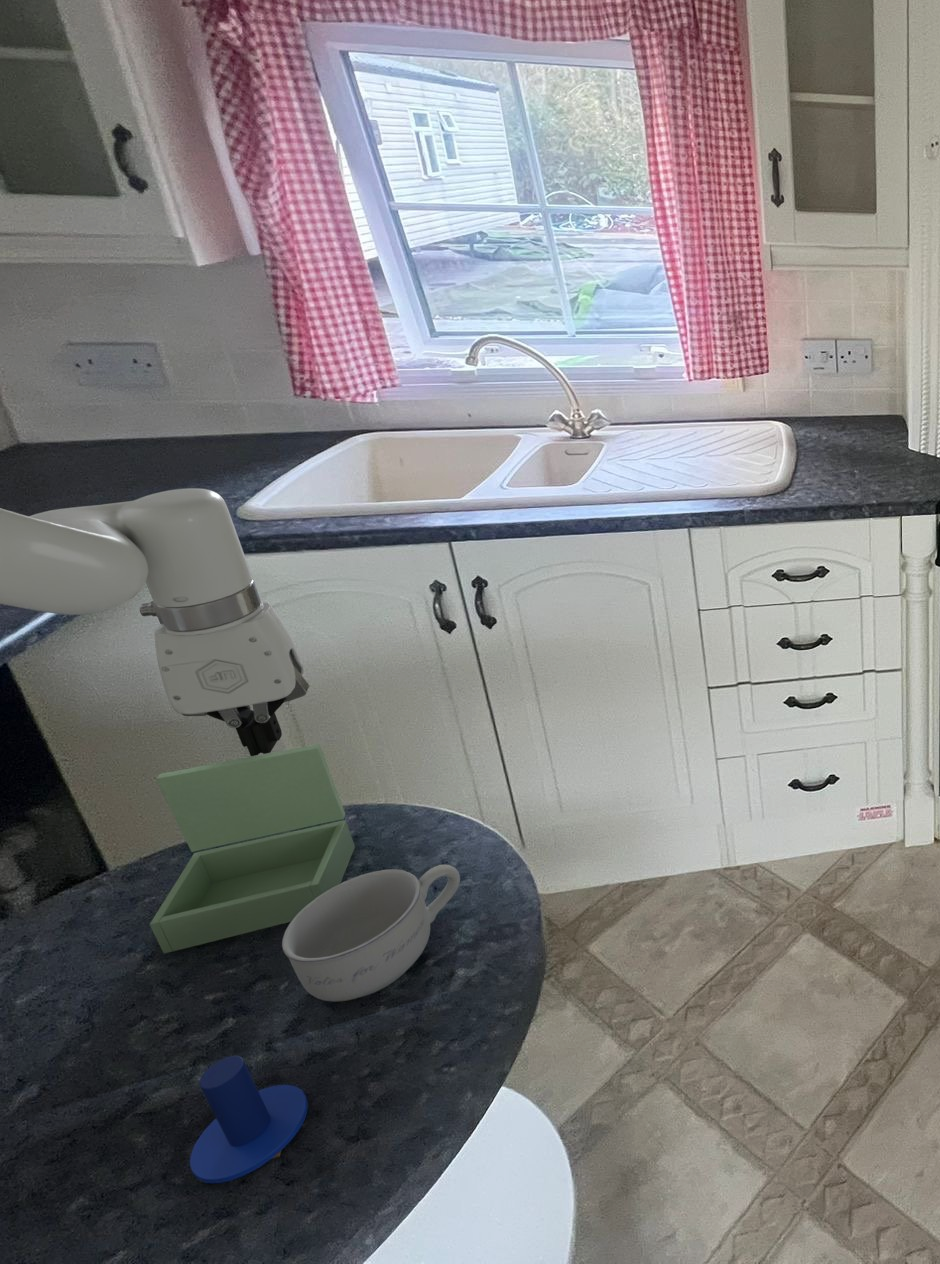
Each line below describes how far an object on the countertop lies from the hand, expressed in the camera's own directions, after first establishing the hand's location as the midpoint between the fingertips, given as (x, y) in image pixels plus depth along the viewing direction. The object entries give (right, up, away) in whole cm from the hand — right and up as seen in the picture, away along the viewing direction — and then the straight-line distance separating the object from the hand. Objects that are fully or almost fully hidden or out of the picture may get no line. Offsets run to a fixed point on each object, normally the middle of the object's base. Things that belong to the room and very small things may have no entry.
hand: (265, 746), depth 92 cm
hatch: (+2, -5, -3) cm, 6 cm away
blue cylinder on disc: (+22, -25, -24) cm, 41 cm away
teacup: (+21, -19, -9) cm, 30 cm away
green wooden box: (+3, -16, -3) cm, 16 cm away
